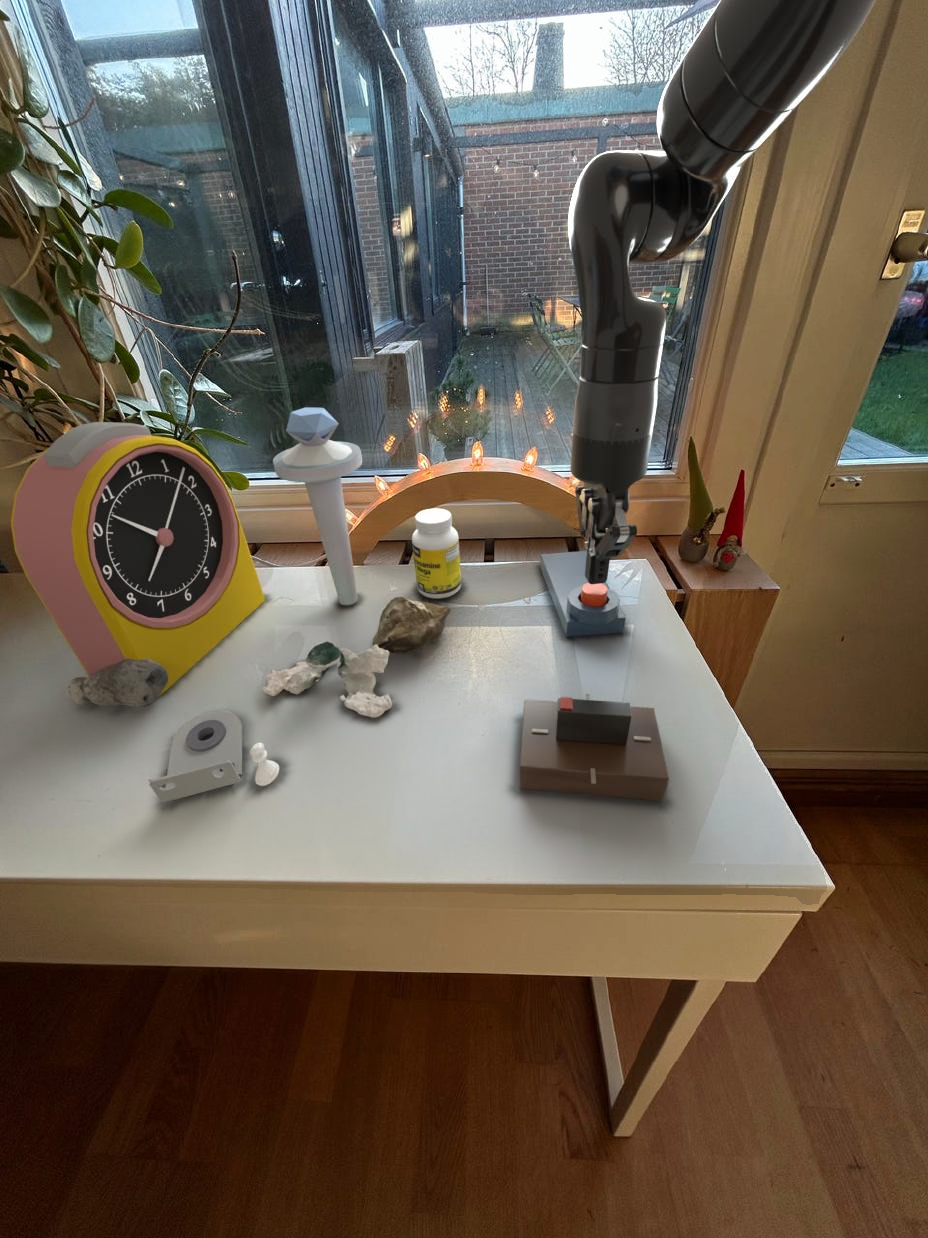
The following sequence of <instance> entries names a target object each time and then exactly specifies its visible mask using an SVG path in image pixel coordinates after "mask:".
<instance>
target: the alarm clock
mask: <svg viewBox="0 0 928 1238" xmlns="http://www.w3.org/2000/svg"><path fill="white" fill-rule="evenodd" d="M237 511H238V510H237V509H236V506H235V502H234V499H233V498H232V495H231V493H230V490H229V488H228V486H227V484H226V482H225V480H224V479H223V477H222V476H221V474H220V473H219V472H218V471H217V469H216V467H215V466H214V465H213V464H212V462H210V461H209V460H208V459H207V458H206V457H205V456H204V455H203V454H202V453H200V452H199V451H198V450H197V449H196V448H194V447H192V446H190V445H188V444H185V443H184V442H181V441H179V440H178V439H175V438H171V437H164V436H157V435H152V432H151V430H150V428H149V427H148V426H146V425H143V424H138V423H132V422H113V421H112V422H109V421H105V422H104V421H94V422H93V421H92V422H89V423H83V424H82V423H81V424H80V425H78V426H76V427H73V428H72V429H69V430H67V431H66V432H65V433H64V434H62V435H60V437H58V438H57V439H55V441H54V442H53V443H52V444H51V445H50V446H49V447H48V448H46V449H45V450H44V451H43V452H41V454H40V455H39V456H38V457H37V458H36V459H35V460H34V461H33V462H32V463H30V465H29V466H28V467H27V469H26V471H25V473H24V475H23V477H22V479H21V481H20V483H19V485H18V487H17V489H16V491H15V493H14V498H13V505H12V512H11V519H10V526H11V533H12V540H13V546H14V547H13V548H14V553H15V555H16V557H17V559H18V562H19V564H20V566H21V568H22V570H23V572H24V575H25V577H26V579H27V581H28V582H29V584H30V585H31V587H32V588H33V590H34V591H35V593H36V595H37V597H38V598H39V599H40V602H42V604H43V605H44V607H45V609H46V611H47V613H48V614H49V616H50V618H51V619H52V620H53V622H54V623H55V625H56V626H57V628H58V630H59V631H60V633H61V635H62V636H63V637H64V639H65V641H66V643H67V644H68V646H69V648H70V649H71V650H72V652H73V653H74V655H75V657H76V659H77V660H78V661H79V663H80V665H81V667H82V668H83V669H84V672H85V673H86V674H87V677H89V676H90V675H92V674H93V673H96V672H98V671H100V670H102V669H104V668H106V667H108V666H110V665H114V664H117V663H119V662H121V661H122V660H124V659H133V660H142V659H151V660H154V661H155V662H157V663H158V664H160V665H162V666H163V667H164V668H165V670H166V671H167V674H168V683H167V684H166V686H165V687H164V688H163V690H162V692H161V694H160V696H159V697H158V698H160V697H161V696H162V695H163V694H164V693H165V692H167V690H169V689H170V688H171V687H172V686H173V685H174V684H175V683H176V682H177V681H178V680H179V679H180V678H182V677H183V676H184V675H185V674H186V673H188V671H190V670H191V669H192V668H193V667H194V666H195V665H196V664H197V663H198V662H199V661H200V660H201V659H203V658H204V657H205V656H206V655H207V654H208V653H210V651H212V649H214V648H215V647H216V646H217V645H218V644H219V643H220V642H222V641H223V640H224V639H225V638H226V637H227V636H228V635H229V634H230V633H231V632H233V631H234V629H236V628H237V627H238V626H239V625H240V624H241V623H243V621H245V619H247V618H248V617H249V616H250V615H251V614H253V612H254V611H256V610H257V609H258V608H259V607H260V606H261V605H263V603H264V602H266V596H265V594H264V591H263V588H262V585H261V582H260V579H259V575H258V572H257V569H256V566H255V564H254V560H253V557H252V554H251V551H250V548H249V545H248V542H247V539H246V535H245V532H244V530H243V526H242V523H241V521H240V518H239V515H238V512H237Z"/></svg>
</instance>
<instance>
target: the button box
mask: <svg viewBox="0 0 928 1238" xmlns="http://www.w3.org/2000/svg"><path fill="white" fill-rule="evenodd" d="M586 557H587V550H579V551H568V552H567V551H566V552H553V553H541V554H540V559H539V560H540V562H539V567H540V570H541V573H542V577H543V578H544V581H545V584H546V587H547V589H548V593H549V595H550V597H551V600H552V603H553V605H554V608H555V611H556V613H557V616H558V619H559V621H560V624H561V627H562V629H563V632H564V635H565V637H566V638H569V637H571V638H572V637H580V636H581V637H582V636H583V637H585V636H594V635H609V634H621V633H624V632H625V625H626V619H627V618H626V616H625V614H624V612H623V610H622V609H621V607H620V603H621V599H620V598H619V595H618V594H617V593H616V592H615V591H613V590H612V589H611V588H610V587H609V585H608V583H607V581H606V582H605V583H601V584H604V585H605V586H606V587H607V589H608V593H607V600H606V604H605V605H603V606H600V607H591V606H587V605H585V604H583V603H582V602H581V589H582V586H583V585H584V584H586V583H589V582H588V581H587V579H586V577H585V567H586Z"/></svg>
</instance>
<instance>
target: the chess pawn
mask: <svg viewBox="0 0 928 1238" xmlns="http://www.w3.org/2000/svg"><path fill="white" fill-rule="evenodd" d="M249 754H250V756H251V757H252V761H253V763H256V764H258V766H257V768H256V771H255V778H254V782H255V784H256V785H258V786H260V787H262V786H263V787H265V786H268V785H270V784H271V783H273V782H274V781H275V780H276V779H277V777H278V775H279V772H280V766H279V765H280V764H279V763H277V762H276V761H274V760H269V759H267V755H268V751H267V750H266V749H265V745H264V744H263V743H262V742H257V743H256V742H255V744H253V745H252V747H250V749H249Z"/></svg>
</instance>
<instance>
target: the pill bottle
mask: <svg viewBox="0 0 928 1238" xmlns="http://www.w3.org/2000/svg"><path fill="white" fill-rule="evenodd" d="M414 520H415V527H416V529H415V530H414V532H413V533H412V535H411V544H412V553H413V554H412V555H413V563H414V572H415V580H416V587H417V591H418V592H419V593H420V594H421V595H422V596H423V597H425V598H429V599H438V600H439V599H445V598H449V597H451V596H453V595H456V594H457V593H458V592H459V591H460V590H461V587H462V574H461V573H462V572H461V556H460V541H459V540H460V539H459V533H458V531H457V530H456V528H454V527H453V519H452V513H451V512H450V511H449V510H447V509H444V508H439V507H438V508H436V507H435V508H434V507H433V508H427V509H423V510H420V511H419V512H417V513H416V514H415V516H414Z"/></svg>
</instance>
